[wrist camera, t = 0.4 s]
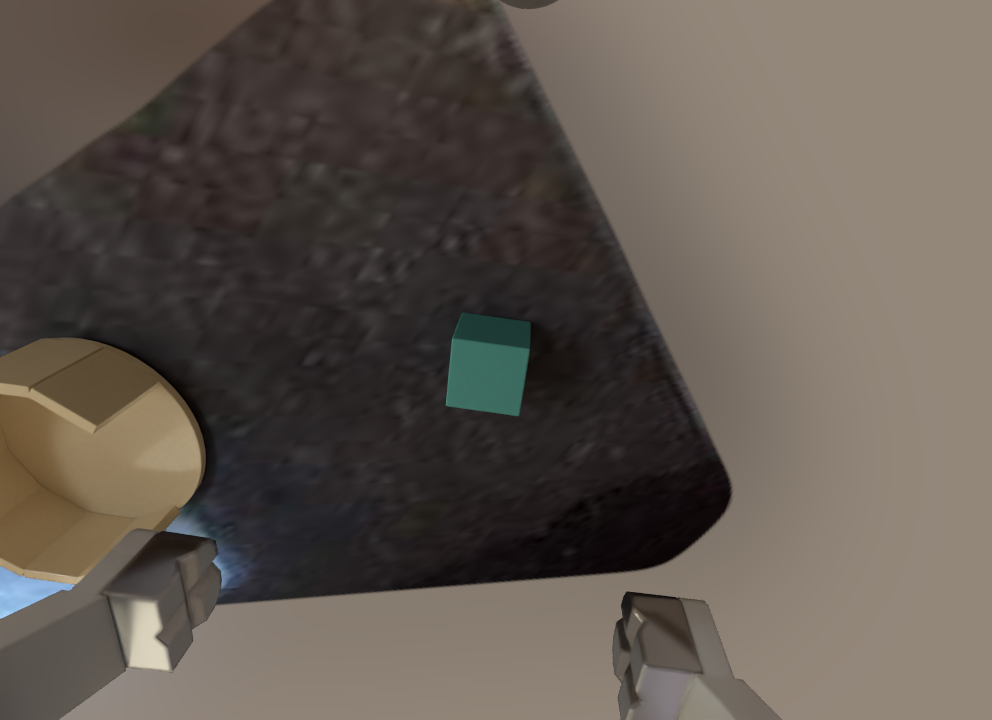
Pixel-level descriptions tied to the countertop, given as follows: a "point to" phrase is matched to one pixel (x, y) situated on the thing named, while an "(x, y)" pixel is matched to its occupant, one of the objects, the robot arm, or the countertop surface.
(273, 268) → the countertop surface
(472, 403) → the block
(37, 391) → the tan scoop with handle
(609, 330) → the countertop surface
